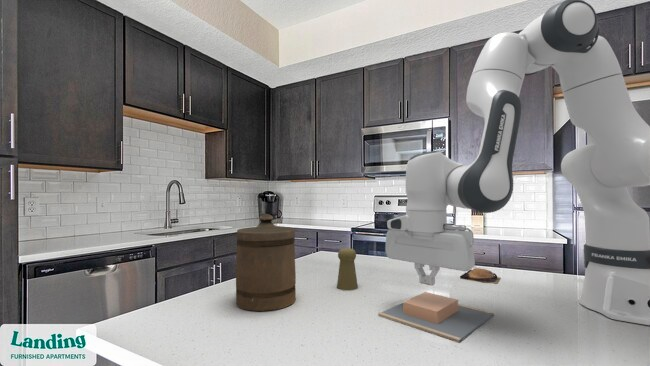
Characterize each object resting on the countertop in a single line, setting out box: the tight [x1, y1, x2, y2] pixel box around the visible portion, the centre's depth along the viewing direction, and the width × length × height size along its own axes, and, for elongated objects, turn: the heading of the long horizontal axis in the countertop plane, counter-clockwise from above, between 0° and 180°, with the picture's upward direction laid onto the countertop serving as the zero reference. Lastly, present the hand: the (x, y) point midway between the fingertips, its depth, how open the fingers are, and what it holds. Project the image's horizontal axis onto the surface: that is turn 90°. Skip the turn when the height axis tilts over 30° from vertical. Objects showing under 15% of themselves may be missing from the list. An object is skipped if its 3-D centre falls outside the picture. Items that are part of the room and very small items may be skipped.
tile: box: [402, 291, 459, 324], centre depth 72 cm, size 2×10×8 cm
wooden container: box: [235, 213, 297, 312], centre depth 81 cm, size 15×15×22 cm
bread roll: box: [459, 267, 501, 285], centre depth 100 cm, size 11×9×4 cm
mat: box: [377, 302, 495, 343], centre depth 71 cm, size 18×18×1 cm
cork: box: [336, 247, 359, 291], centre depth 92 cm, size 6×6×11 cm
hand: (427, 284), depth 72 cm, fingers closed
